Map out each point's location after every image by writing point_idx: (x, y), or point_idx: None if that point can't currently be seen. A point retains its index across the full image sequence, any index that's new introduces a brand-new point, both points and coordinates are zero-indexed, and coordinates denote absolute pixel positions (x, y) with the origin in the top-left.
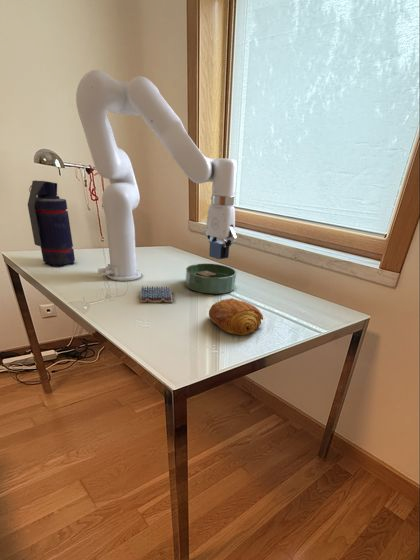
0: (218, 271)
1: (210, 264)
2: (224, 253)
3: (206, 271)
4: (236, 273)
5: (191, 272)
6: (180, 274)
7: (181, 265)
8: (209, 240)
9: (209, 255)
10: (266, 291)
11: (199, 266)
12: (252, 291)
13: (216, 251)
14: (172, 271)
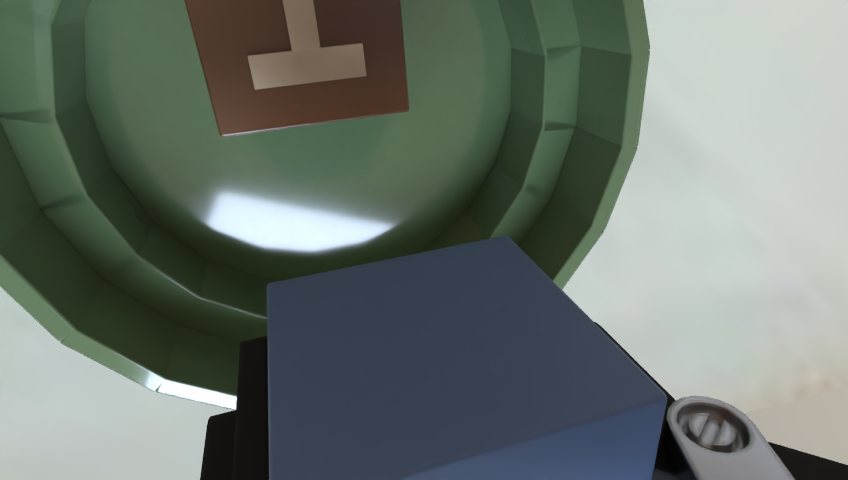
0: None
1: (550, 276)
2: (232, 438)
3: (364, 75)
4: (136, 374)
5: (577, 13)
6: (720, 44)
7: (842, 192)
8: (755, 440)
9: (507, 241)
10: (4, 474)
11: (599, 152)
12: (38, 377)
13: (362, 341)
14: (814, 27)
